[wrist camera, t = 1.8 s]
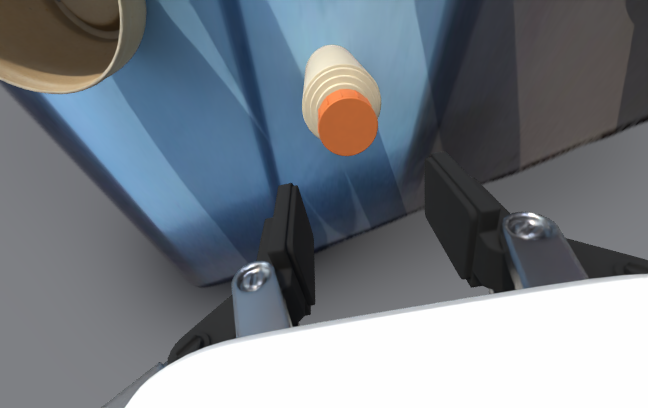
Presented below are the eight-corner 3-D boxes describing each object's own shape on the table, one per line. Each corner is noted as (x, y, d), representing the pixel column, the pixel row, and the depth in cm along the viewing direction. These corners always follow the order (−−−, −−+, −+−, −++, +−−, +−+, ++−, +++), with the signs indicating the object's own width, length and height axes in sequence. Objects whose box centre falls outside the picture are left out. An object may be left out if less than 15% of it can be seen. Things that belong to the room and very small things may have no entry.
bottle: (368, 66, 34) (415, 112, 18) (338, 111, 37) (357, 183, 21) (323, 32, 31) (335, 52, 16) (295, 83, 34) (283, 141, 19)
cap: (382, 108, 20) (390, 119, 18) (350, 151, 22) (354, 165, 20) (337, 76, 19) (340, 85, 17) (307, 125, 21) (307, 137, 19)
